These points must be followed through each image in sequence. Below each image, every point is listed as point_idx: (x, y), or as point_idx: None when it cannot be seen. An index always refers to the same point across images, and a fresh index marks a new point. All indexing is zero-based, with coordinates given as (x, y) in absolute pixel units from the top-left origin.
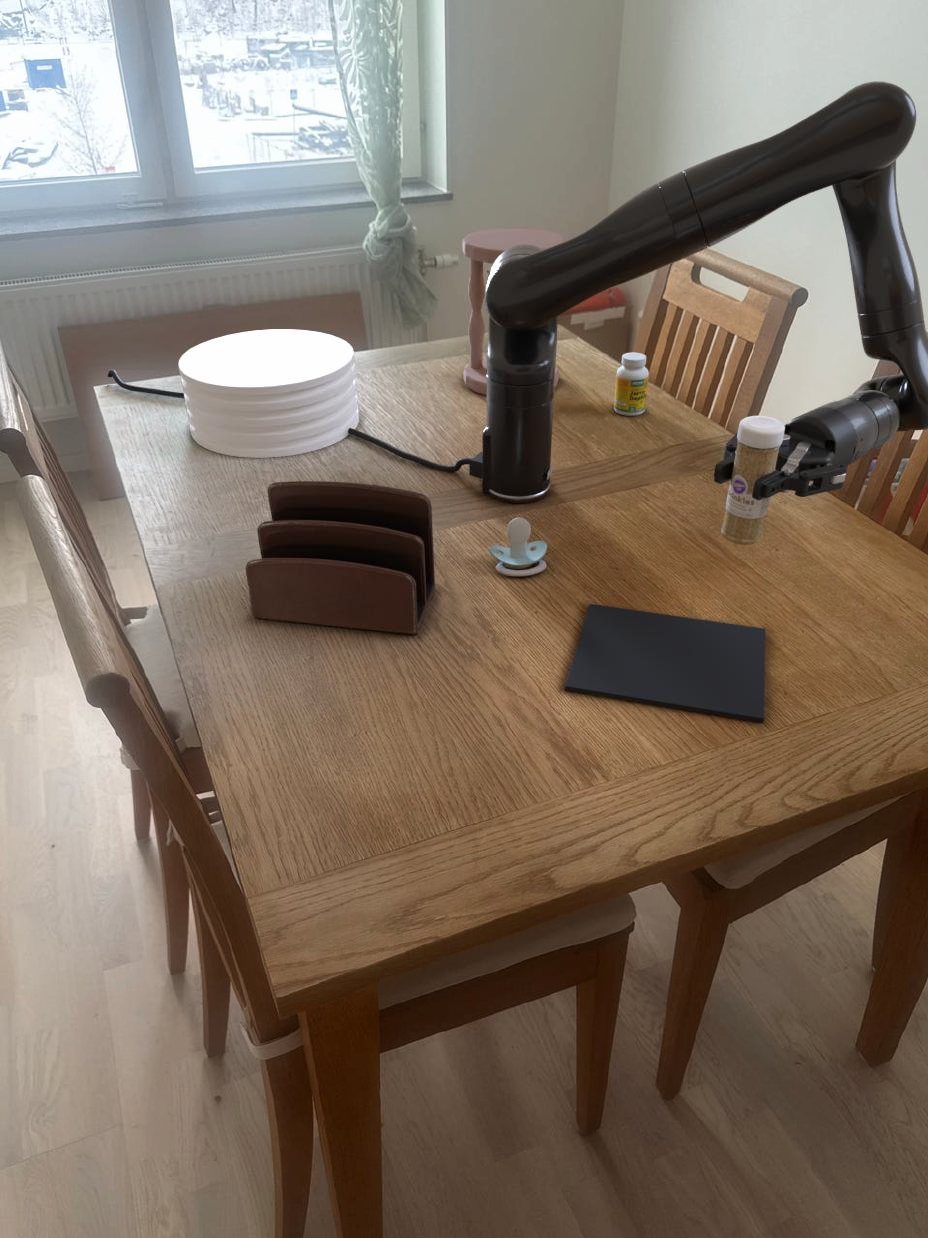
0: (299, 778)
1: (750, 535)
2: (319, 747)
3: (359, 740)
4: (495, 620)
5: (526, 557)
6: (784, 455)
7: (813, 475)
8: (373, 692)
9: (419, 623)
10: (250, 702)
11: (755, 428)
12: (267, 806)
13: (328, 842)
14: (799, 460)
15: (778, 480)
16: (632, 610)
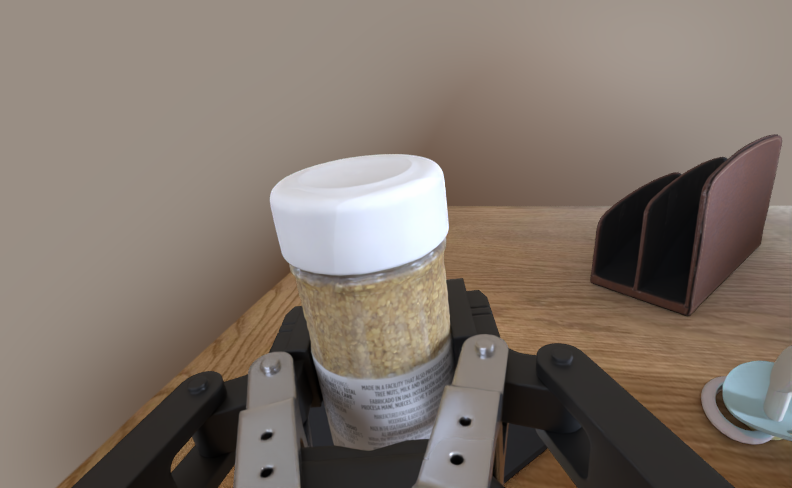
0: (466, 221)
1: None
2: (485, 228)
3: (477, 239)
4: (591, 336)
5: (763, 417)
6: (342, 457)
7: (166, 399)
8: (523, 251)
9: (600, 279)
10: (552, 217)
11: (349, 158)
12: (455, 212)
13: None
14: (240, 411)
15: (281, 340)
16: (521, 458)
